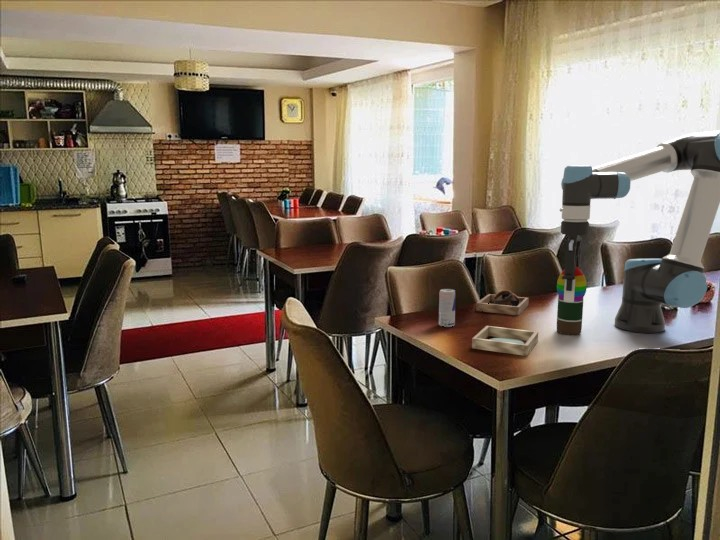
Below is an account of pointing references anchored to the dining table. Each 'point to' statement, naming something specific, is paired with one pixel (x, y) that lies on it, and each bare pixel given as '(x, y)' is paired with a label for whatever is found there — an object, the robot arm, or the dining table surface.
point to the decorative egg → (579, 285)
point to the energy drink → (447, 307)
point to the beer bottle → (569, 317)
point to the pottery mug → (506, 298)
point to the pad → (508, 340)
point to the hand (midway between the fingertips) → (571, 298)
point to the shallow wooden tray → (505, 347)
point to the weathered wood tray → (502, 309)
